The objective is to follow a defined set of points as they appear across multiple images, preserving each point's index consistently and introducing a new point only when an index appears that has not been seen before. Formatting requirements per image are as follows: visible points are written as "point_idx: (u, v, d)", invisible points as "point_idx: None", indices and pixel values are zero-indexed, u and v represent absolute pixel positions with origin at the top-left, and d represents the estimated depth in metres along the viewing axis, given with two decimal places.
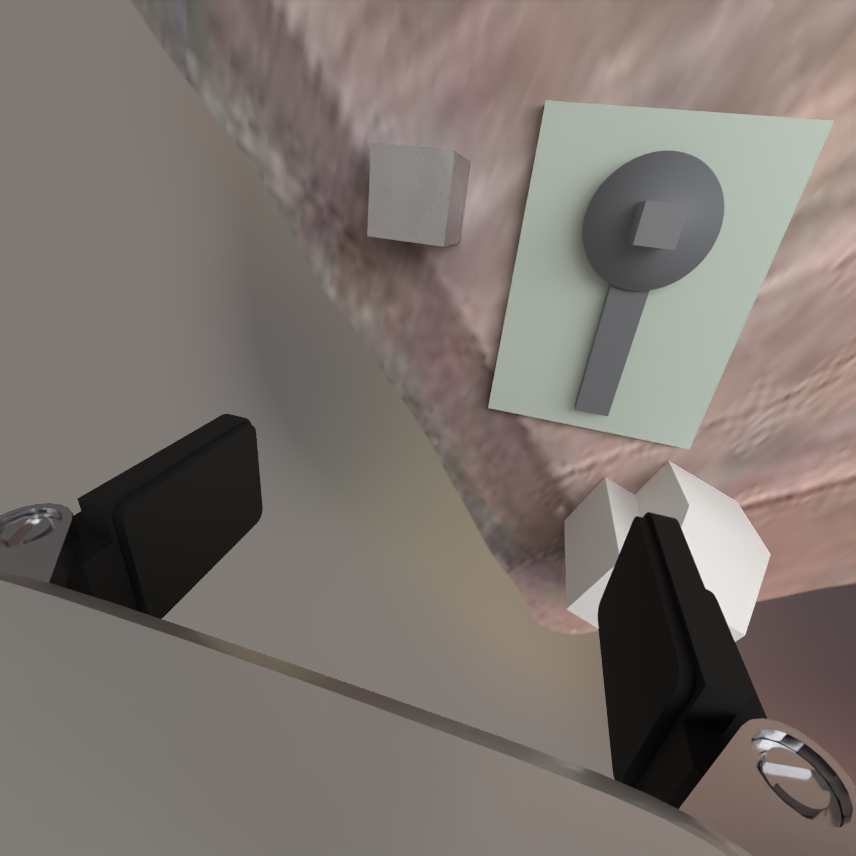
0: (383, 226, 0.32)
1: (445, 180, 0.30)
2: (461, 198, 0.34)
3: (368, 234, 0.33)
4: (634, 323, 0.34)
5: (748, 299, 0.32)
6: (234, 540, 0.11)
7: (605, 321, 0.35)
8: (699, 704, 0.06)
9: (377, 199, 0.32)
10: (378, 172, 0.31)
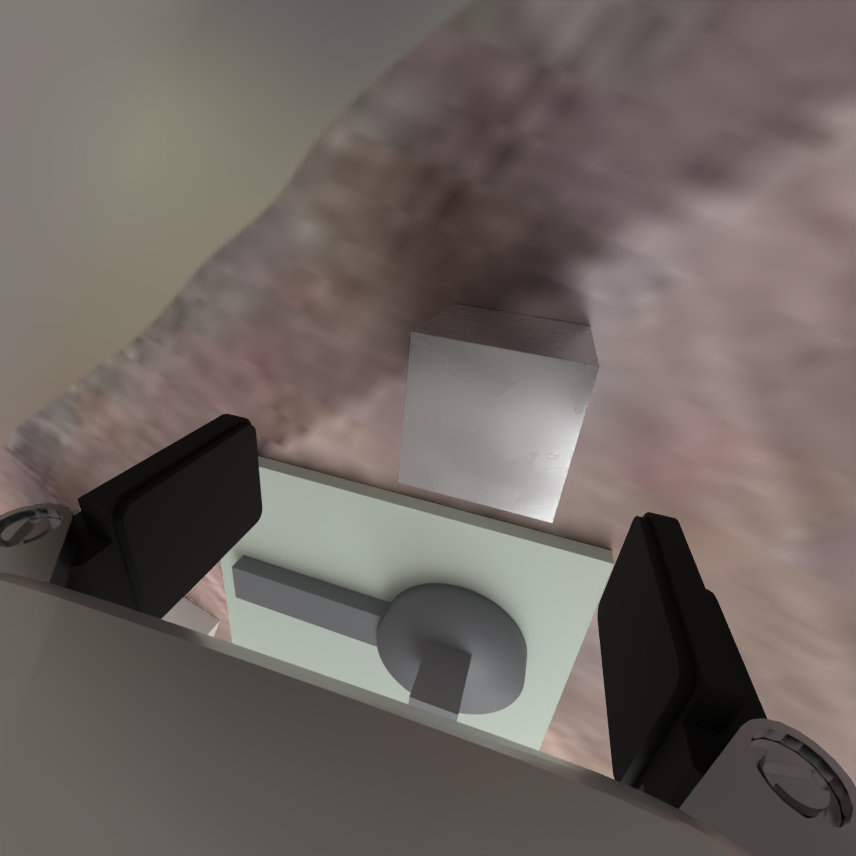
0: (430, 372, 0.15)
1: (505, 501, 0.16)
2: None
3: (414, 335, 0.14)
4: (342, 631, 0.28)
5: None
6: (234, 540, 0.11)
7: (340, 607, 0.27)
8: (699, 704, 0.06)
9: (483, 366, 0.14)
10: (536, 375, 0.14)
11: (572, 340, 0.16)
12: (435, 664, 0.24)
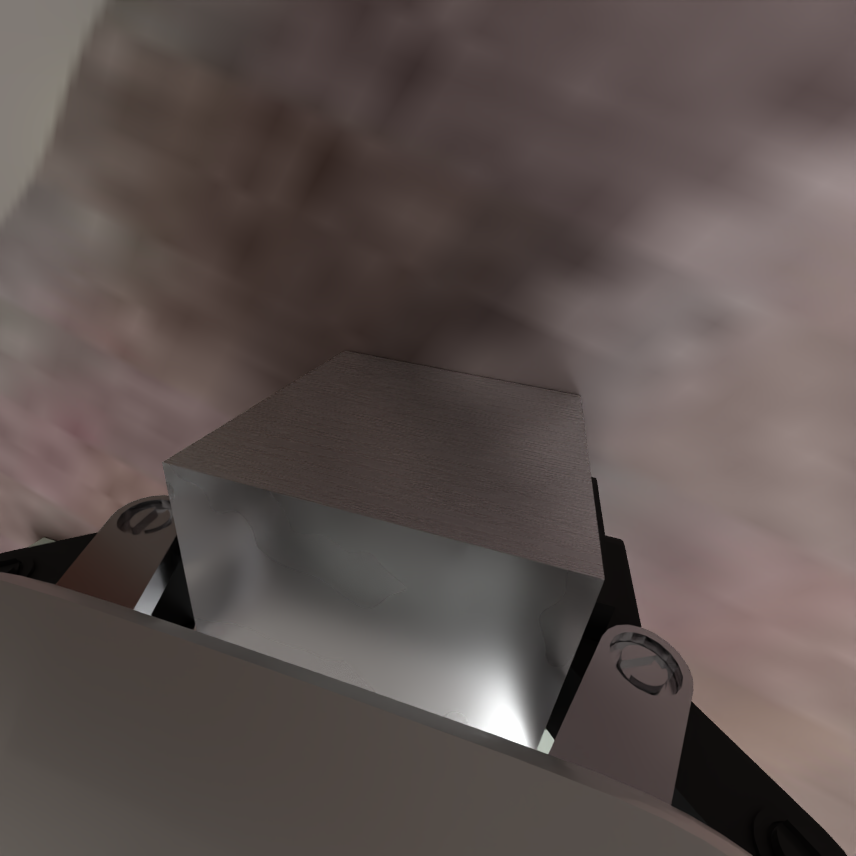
0: (222, 545, 0.07)
1: None
2: None
3: (171, 470, 0.06)
4: None
5: None
6: None
7: None
8: None
9: (328, 546, 0.06)
10: (449, 579, 0.06)
11: (543, 451, 0.08)
12: None
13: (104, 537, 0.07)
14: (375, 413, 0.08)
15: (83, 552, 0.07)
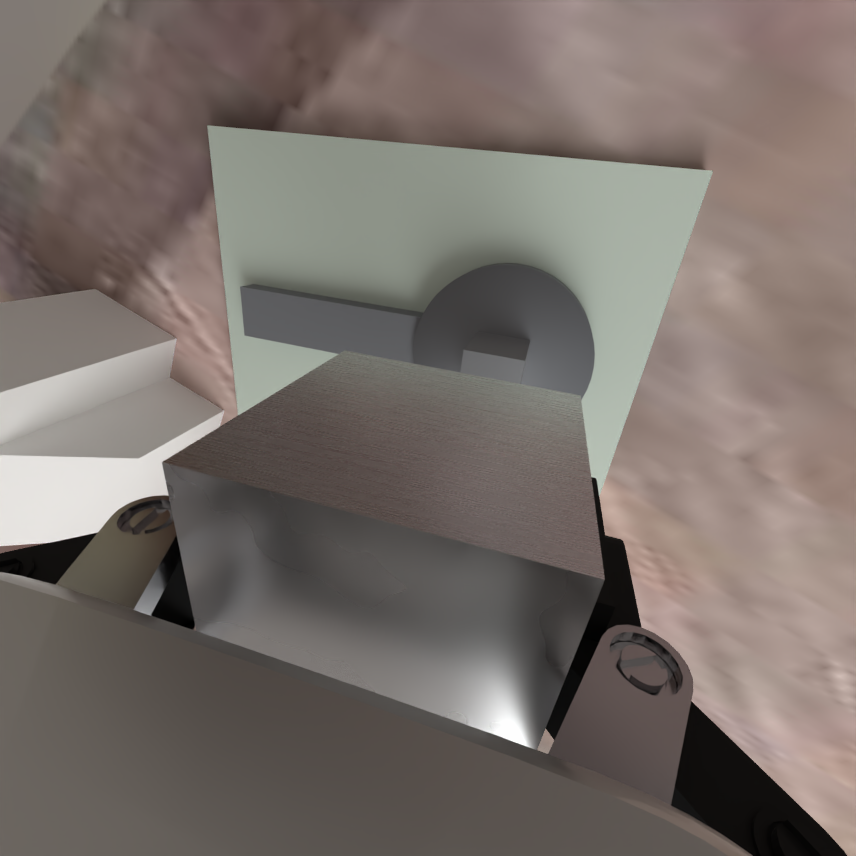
0: (222, 545, 0.07)
1: None
2: None
3: (170, 470, 0.06)
4: (371, 354, 0.24)
5: None
6: None
7: (370, 316, 0.23)
8: None
9: (328, 546, 0.06)
10: (449, 579, 0.06)
11: (543, 451, 0.08)
12: (489, 340, 0.20)
13: (104, 537, 0.07)
14: (375, 413, 0.08)
15: (83, 552, 0.07)
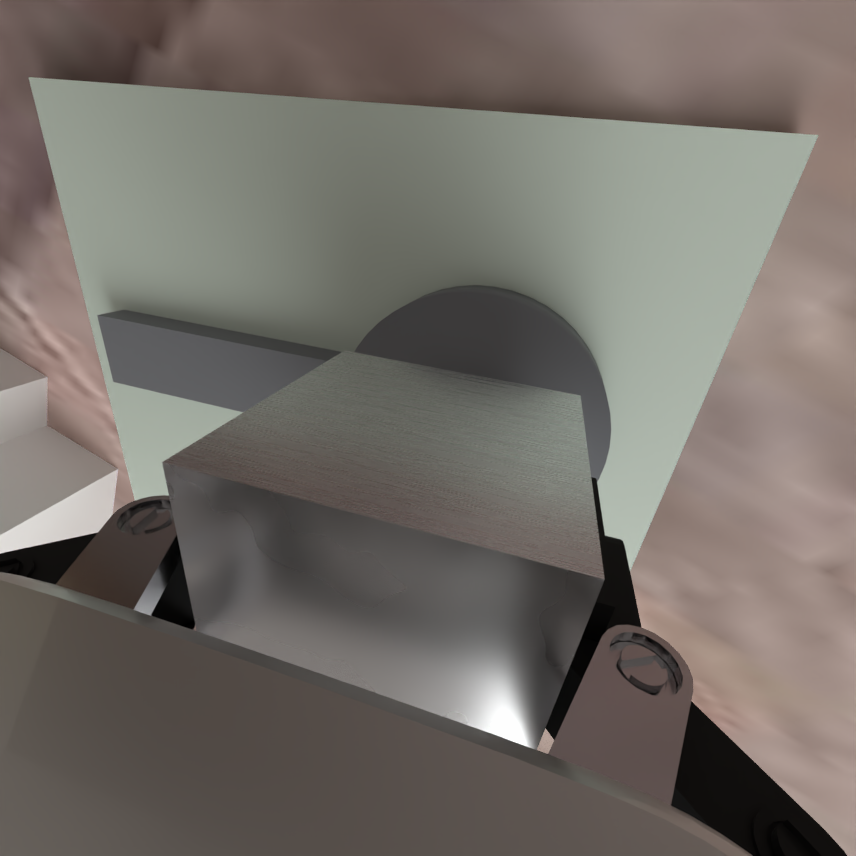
0: (222, 545, 0.07)
1: None
2: None
3: (170, 470, 0.06)
4: None
5: None
6: None
7: (277, 361, 0.16)
8: None
9: (328, 546, 0.06)
10: (449, 579, 0.06)
11: (543, 451, 0.08)
12: None
13: (104, 537, 0.07)
14: (375, 413, 0.08)
15: (83, 552, 0.07)
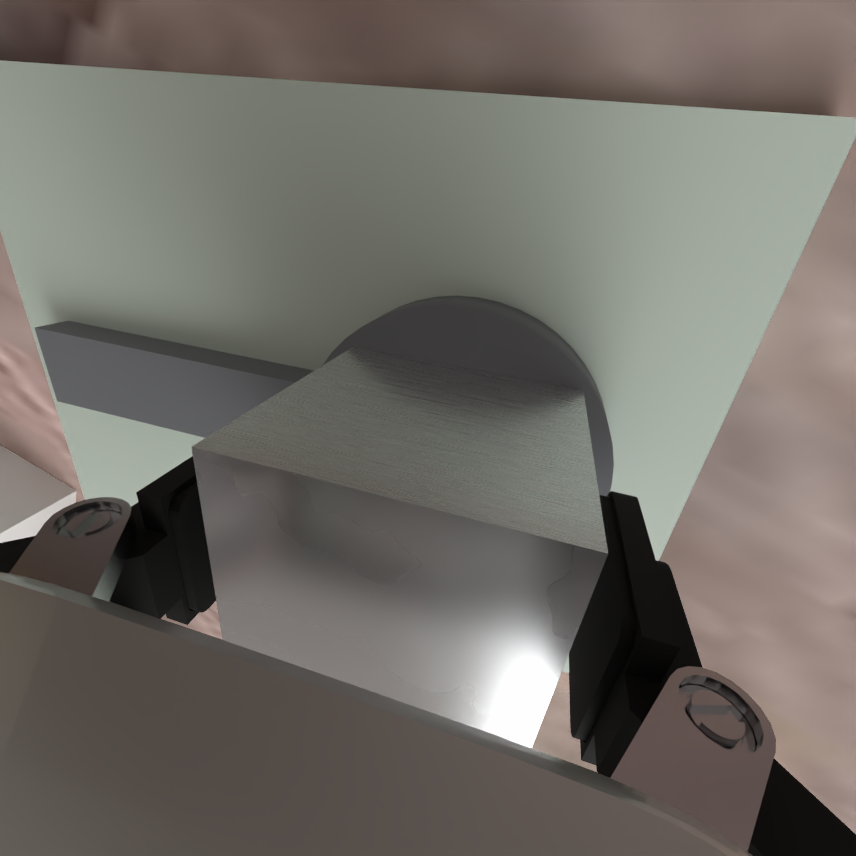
0: (246, 526, 0.07)
1: None
2: None
3: (199, 454, 0.06)
4: None
5: None
6: None
7: (234, 381, 0.14)
8: (638, 655, 0.06)
9: (348, 526, 0.06)
10: (462, 555, 0.06)
11: (549, 440, 0.08)
12: None
13: (41, 543, 0.07)
14: (388, 404, 0.09)
15: (20, 560, 0.06)
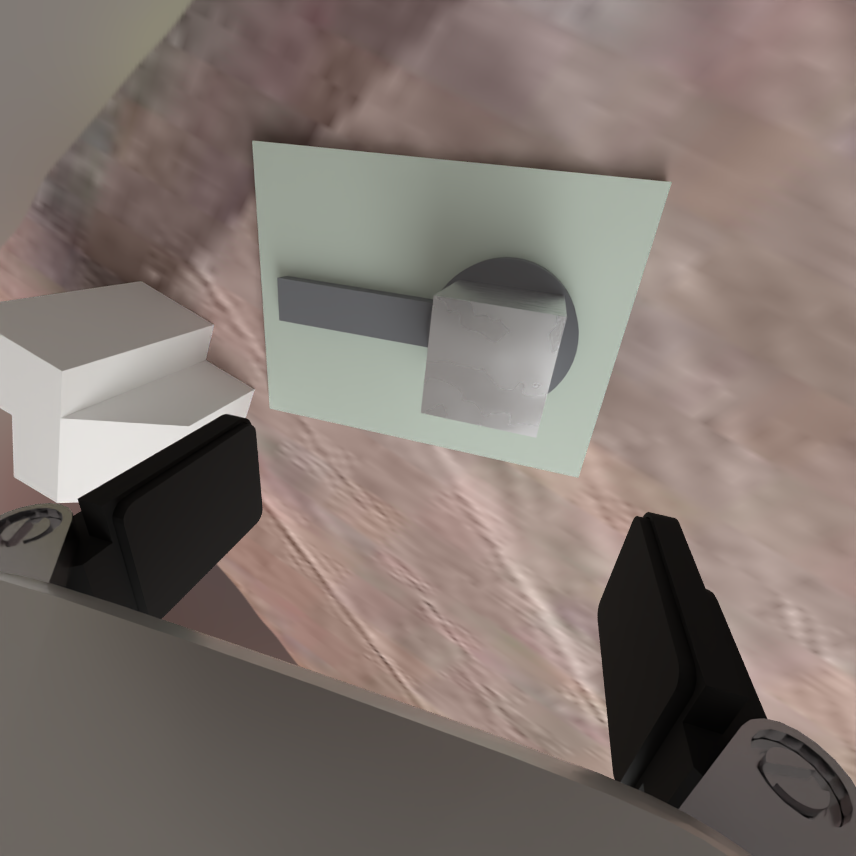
0: (447, 325, 0.20)
1: (502, 422, 0.22)
2: None
3: (436, 297, 0.20)
4: (390, 335, 0.28)
5: (425, 437, 0.32)
6: (234, 540, 0.11)
7: (390, 302, 0.27)
8: (699, 704, 0.06)
9: (485, 319, 0.20)
10: (523, 325, 0.19)
11: (549, 303, 0.21)
12: None
13: None
14: (486, 293, 0.22)
15: None
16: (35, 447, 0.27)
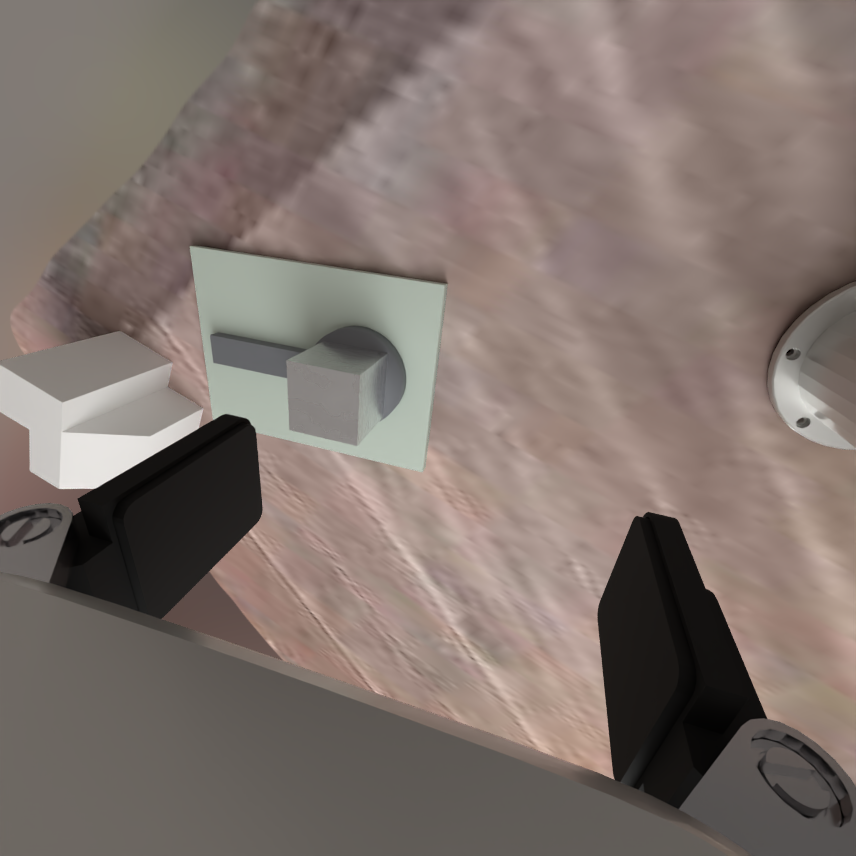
0: (296, 377, 0.33)
1: (336, 436, 0.35)
2: None
3: (287, 361, 0.33)
4: (286, 375, 0.41)
5: (320, 444, 0.45)
6: (234, 540, 0.11)
7: (283, 353, 0.40)
8: (699, 704, 0.06)
9: (317, 375, 0.33)
10: (337, 379, 0.32)
11: (365, 362, 0.34)
12: None
13: None
14: (328, 355, 0.35)
15: None
16: (44, 451, 0.40)
